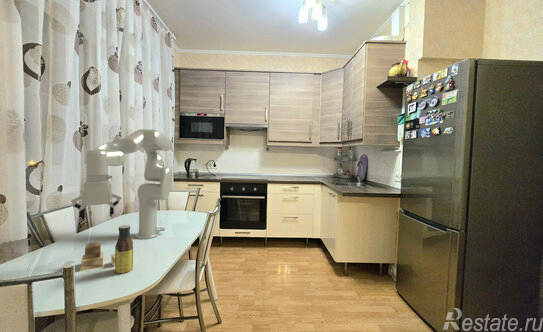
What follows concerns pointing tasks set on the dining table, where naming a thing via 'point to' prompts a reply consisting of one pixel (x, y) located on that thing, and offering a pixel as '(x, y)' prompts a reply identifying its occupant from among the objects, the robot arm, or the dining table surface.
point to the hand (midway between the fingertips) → (97, 217)
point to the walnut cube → (92, 250)
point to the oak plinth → (91, 263)
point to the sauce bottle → (124, 251)
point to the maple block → (113, 260)
